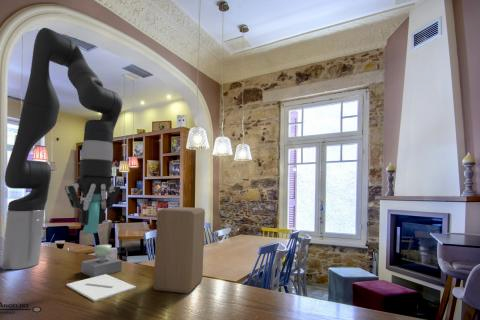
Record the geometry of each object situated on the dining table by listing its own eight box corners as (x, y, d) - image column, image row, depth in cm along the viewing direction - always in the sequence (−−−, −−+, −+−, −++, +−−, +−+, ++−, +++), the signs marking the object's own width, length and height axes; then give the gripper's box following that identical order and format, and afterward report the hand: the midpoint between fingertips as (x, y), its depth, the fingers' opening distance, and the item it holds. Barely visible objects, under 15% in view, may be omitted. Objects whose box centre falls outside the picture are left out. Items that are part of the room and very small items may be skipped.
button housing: (80, 272, 76) (81, 261, 76) (107, 265, 82) (108, 256, 83) (93, 277, 71) (94, 266, 72) (121, 270, 78) (122, 260, 78)
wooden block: (170, 277, 73) (173, 206, 75) (203, 280, 71) (206, 207, 73) (151, 291, 63) (156, 209, 66) (189, 295, 61) (192, 210, 63)
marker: (81, 232, 67) (84, 193, 68) (94, 230, 69) (97, 193, 70) (87, 233, 65) (90, 194, 66) (100, 232, 67) (103, 194, 68)
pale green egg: (90, 265, 76) (92, 246, 77) (105, 262, 80) (106, 243, 81) (97, 268, 74) (99, 248, 75) (112, 264, 77) (114, 245, 78)
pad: (66, 285, 65) (66, 283, 65) (105, 275, 73) (105, 273, 73) (94, 301, 57) (95, 299, 57) (135, 288, 65) (135, 286, 65)
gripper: (115, 162, 77) (110, 220, 75) (61, 156, 66) (54, 225, 64) (129, 161, 73) (124, 223, 71) (74, 155, 61) (67, 228, 59)
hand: (91, 223), depth 67 cm, fingers closed on marker, 3 cm apart
